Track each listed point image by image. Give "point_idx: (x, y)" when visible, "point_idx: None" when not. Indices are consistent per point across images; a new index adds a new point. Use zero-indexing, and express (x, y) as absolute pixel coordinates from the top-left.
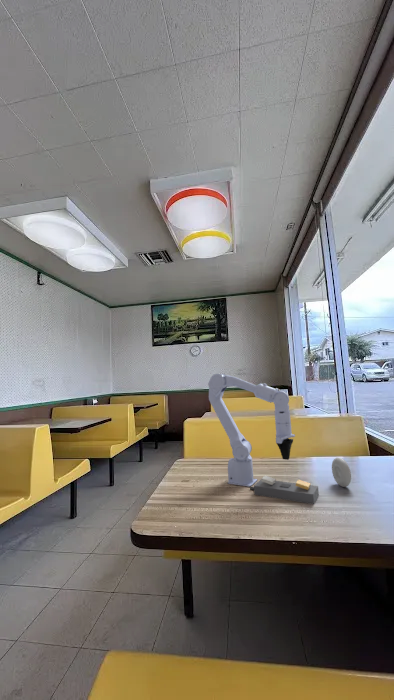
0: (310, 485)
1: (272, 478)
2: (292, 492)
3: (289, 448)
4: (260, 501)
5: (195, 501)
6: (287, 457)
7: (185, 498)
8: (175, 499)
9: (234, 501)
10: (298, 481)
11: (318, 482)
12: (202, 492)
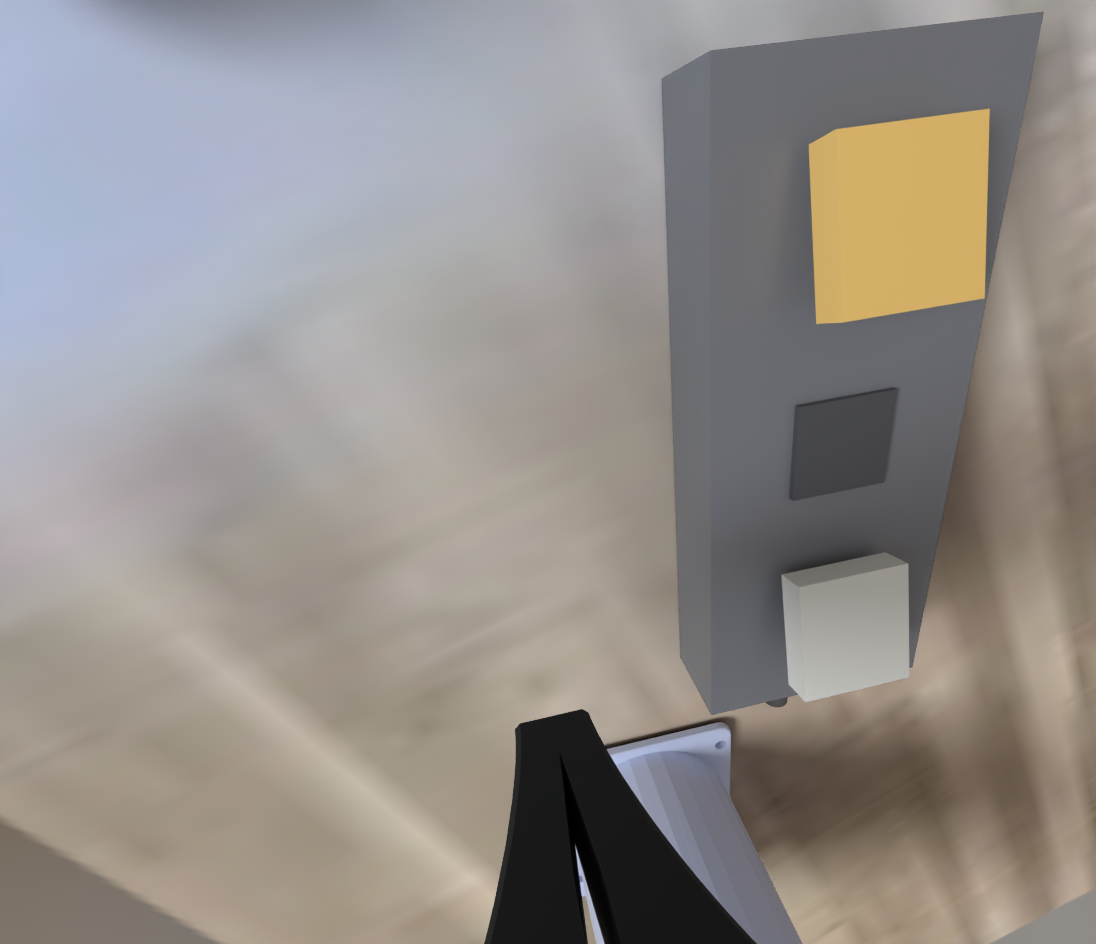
0: (723, 173)
1: (814, 615)
2: (976, 301)
3: (652, 939)
4: (976, 515)
5: (1047, 787)
6: (603, 751)
7: (1016, 840)
8: (1037, 859)
9: (1010, 644)
10: (911, 293)
11: (183, 248)
12: (913, 844)
